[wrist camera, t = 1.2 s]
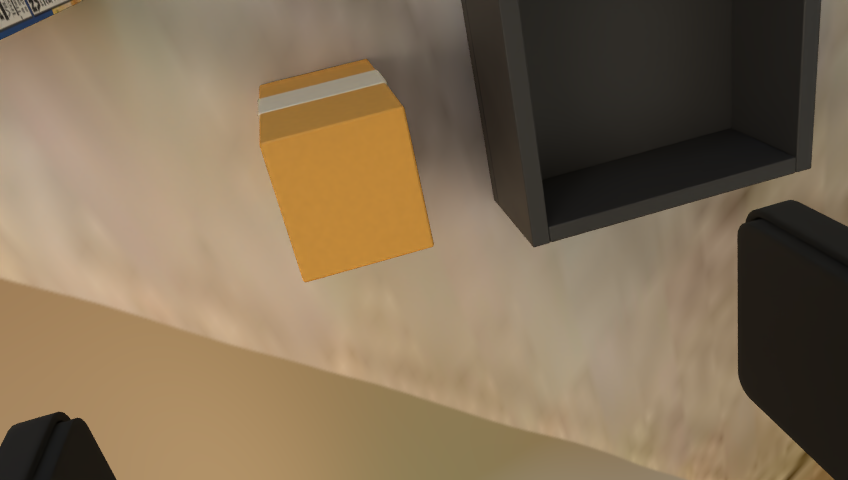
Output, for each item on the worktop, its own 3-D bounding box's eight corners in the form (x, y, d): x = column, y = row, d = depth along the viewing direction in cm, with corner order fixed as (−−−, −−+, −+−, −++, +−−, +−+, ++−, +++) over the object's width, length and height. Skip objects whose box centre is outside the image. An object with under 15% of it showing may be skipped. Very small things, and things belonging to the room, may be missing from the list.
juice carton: (257, 84, 31) (256, 142, 23) (368, 56, 31) (405, 104, 24) (292, 197, 33) (302, 285, 26) (394, 170, 34) (436, 248, 26)
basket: (494, 200, 36) (533, 248, 31) (454, -37, 31) (494, -27, 25) (735, 133, 37) (811, 168, 32) (737, -104, 32) (828, -108, 27)
